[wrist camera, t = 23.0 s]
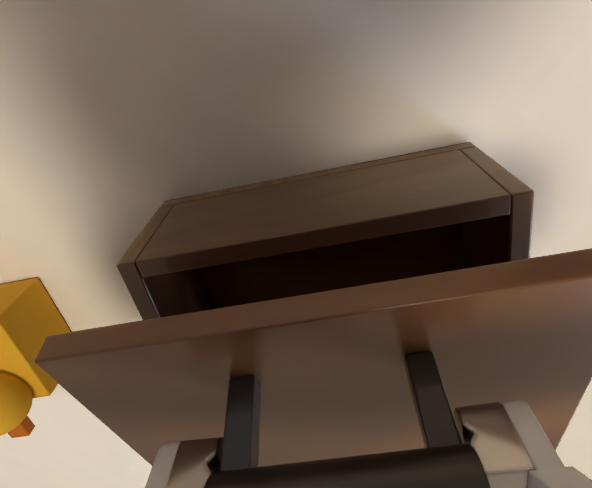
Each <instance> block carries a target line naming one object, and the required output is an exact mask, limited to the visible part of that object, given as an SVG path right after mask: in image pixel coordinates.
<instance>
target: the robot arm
mask: <svg viewBox="0 0 592 488" xmlns="http://www.w3.org/2000/svg"><path fill="white" fill-rule="evenodd" d="M454 419H455V422H456V425H457V428H458V433H459V436H460V439H461V442H462V444H464V443H468V444H470V445H471V446H473V448H474V449H475V451H476V452H477V454H478V456H479V458H480V460H481V462H482V465H483V467H484V470H485V472H486V475H487V478H488V481H489V484H490V487H491V488H592V480H591V479H589V478H588V477H587V476H585V475H584V474H582V473H581V472H579V471H578V470H577V469H575V468H574V467H564V465H563V463H562V461H561V460H560V458H559V456H558V455H557V453H556V451H555V449H554V448H553V446H552V444H551V442H550V441H549V439H548V437H547V436H546V434H545V432H544V430H543V429H542V427H541V425H540V424H539V422H538V420H537V418H536V417H535V415H534V413H533V412H532V410H531V408H530V406H529V405H528V403H527V402H526V401H524V400H523V399H521V400H513V401H505V402H500V403H499V402H493V403H486V404H479V405H471V406H464V407H457V408H455V409H454ZM222 448H223V437H217V438H207V439H196V440H185V441H176V442H167V443H163V444H162V445H161V447H160V448H159V450H158V452H157V455H156V458H155V461H154V464H153V466H152V469H151V472H150V475H149V478H148V481H147V484H146V487H145V488H204V485H205V483H206V481H207V479H208V477H209V476H210V475H211V474H212V473H214V472H218V471H220V468H221V458H222Z"/></svg>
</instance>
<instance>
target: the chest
mask: <svg viewBox="0 0 592 488" xmlns="http://www.w3.org/2000/svg"><path fill="white" fill-rule="evenodd" d="M533 197H534V192H533V190H532V189H531V188H529V187H528V186H527V185H525V184H524V183H523V182H521V181H520V180H519V179H518V178H516V177H515V176H514V175H512V174H511V173H510V172H508V171H507V170H506V169H505V168H503V167H502V166H501V165H499V164H498V163H497V162H495V161H494V160H493V159H492V158H490V157H489V156H488V155H486V154H485V153H484V152H482V151H481V150H480V149H479V148H477V147H475V145H473V144H472V143H470V142H469V143H464V144H458V145H453V146H448V147H443V148H438V149H433V150H428V151H422V152H417V153H412V154H407V155H402V156H397V157H391V158H386V159H381V160H376V161H371V162H366V163H360V164H355V165H350V166H345V167H340V168H335V169H330V170H324V171H319V172H314V173H309V174H304V175H299V176H293V177H288V178H283V179H278V180H273V181H268V182H262V183H257V184H252V185H247V186H242V187H237V188H232V189H226V190H221V191H216V192H211V193H206V194H201V195H195V196H190V197H185V198H180V199H175V200H170V201H165V202H164V203H163V204H162V206H161V207H160V208H159V210H158V211H157V212H156V213H155V215H154V216H153V217H152V219H151V220H150V221H149V223H148V224H147V225H146V227H145V228H144V229H143V231H142V232H141V233H140V235H139V236H138V237H137V239H136V240H135V241H134V243H133V244H132V245H131V247H130V248H129V249H128V251H127V252H126V253H125V255H124V256H123V257H122V259H121V260H120V261H119V263H118V264H117V267H118V269H119V271H120V273H121V275H122V278H123V280H124V282H125V284H126V286H127V288H128V290H129V292H130V294H131V296H132V298H133V300H134V302H135V304H136V306H137V309H138V311H139V313H140V315H141V317H142V319H143V320H149V319H155V318H161V317H168V316H174V315H180V314H186V313H193V312H199V311H205V310H211V309H218V308H224V307H230V306H236V305H242V304H249V303H255V302H261V301H267V300H274V299H280V298H286V297H292V296H299V295H305V294H311V293H317V292H324V291H330V290H336V289H342V288H348V287H355V286H361V285H367V284H373V283H380V282H386V281H392V280H398V279H405V278H411V277H417V276H423V275H429V274H436V273H442V272H448V271H454V270H461V269H467V268H473V267H479V266H486V265H492V264H498V263H504V262H511V261H517V260H523V259H529V258H530V243H531V228H532V212H533Z"/></svg>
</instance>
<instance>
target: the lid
mask: <svg viewBox="0 0 592 488" xmlns="http://www.w3.org/2000/svg"><path fill="white" fill-rule="evenodd" d="M35 363H36V364H37V365H38V366H39V367H40V368H41V369H43V370H44V371H45V372H46V373H47V374H48V375H49V376H51V377H52V378H53V379H54V380H55V381H56V382H57V383H59V384H60V385H61V386H62V387H63V388H64V389H65V390H66V391H68V392H69V393H70V394H71V395H72V396H73V397H74V398H76V399H77V400H78V401H79V402H80V403H81V404H82V405H84V406H85V407H86V408H87V409H88V410H89V411H90V412H92V413H93V414H94V415H95V416H96V417H97V418H98V419H100V420H101V421H102V422H103V423H104V424H105V425H106V426H107V427H109V428H110V429H111V430H112V431H113V432H114V433H115V434H117V435H118V436H119V437H120V438H121V439H122V440H123V441H125V442H126V443H127V444H128V445H129V446H130V447H131V448H133V449H134V450H135V451H136V452H137V453H138V454H139V455H141V456H142V457H143V458H144V459H145V460H146V461H147V462H149V463H150V464H151V465H152V466H153V464H154V461H155V458H156V455H157V452H158V450H159V448H160V447H161V445H162V444H163V443H167V442H176V441H185V440H196V439H207V438H217V437H223V448H222V458H221V468H220V471H218V472H214V473H212V474H211V475H210V476H209V477H208V479H207V481H206V483H205V485H204V488H491V487H490V484H489V481H488V478H487V475H486V472H485V470H484V467H483V465H482V462H481V460H480V458H479V456H478V454H477V452H476V451H475V449H474V448H473V446H471V445H470V444H468V443H464V444H462V442H461V439H460V436H459V433H458V428H457V425H456V422H455V419H454V409H455V408H457V407H464V406H471V405H479V404H486V403H493V402H499V403H500V402H505V401H513V400H521V399H523V400H524V401H526V402H527V403H528V405H529V406H530V408H531V410H532V412H533V413H534V415H535V417H536V418H537V420H538V422H539V424H540V425H541V427H542V429H543V430H544V432H545V434H546V436H547V437H548V439H549V441H550V442H551V444H552V446H553V448H554V449H555V450H556V448H557V446H558V444H559V442H560V440H561V438H562V436H563V435H564V433H565V431H566V429H567V427H568V425H569V423H570V421H571V419H572V417H573V415H574V413H575V411H576V409H577V407H578V405H579V403H580V401H581V399H582V397H583V395H584V393H585V391H586V389H587V387H588V385H589V383H590V381H591V379H592V249H585V250H579V251H573V252H567V253H560V254H554V255H548V256H542V257H535V258H529V259H523V260H517V261H511V262H504V263H498V264H492V265H486V266H479V267H473V268H467V269H461V270H454V271H448V272H442V273H436V274H429V275H423V276H417V277H411V278H405V279H398V280H392V281H386V282H380V283H373V284H367V285H361V286H355V287H348V288H342V289H336V290H330V291H324V292H317V293H311V294H305V295H299V296H292V297H286V298H280V299H274V300H267V301H261V302H255V303H249V304H242V305H236V306H230V307H224V308H218V309H211V310H205V311H199V312H193V313H186V314H180V315H174V316H168V317H161V318H155V319H149V320H143V321H137V322H130V323H124V324H118V325H112V326H105V327H99V328H93V329H87V330H80V331H74V332H68V333H62V334H55V335H49V336H47V337H46V338H45V340H44V342H43V344H42V346H41V348H40V350H39V352H38V354H37V356H36V358H35Z"/></svg>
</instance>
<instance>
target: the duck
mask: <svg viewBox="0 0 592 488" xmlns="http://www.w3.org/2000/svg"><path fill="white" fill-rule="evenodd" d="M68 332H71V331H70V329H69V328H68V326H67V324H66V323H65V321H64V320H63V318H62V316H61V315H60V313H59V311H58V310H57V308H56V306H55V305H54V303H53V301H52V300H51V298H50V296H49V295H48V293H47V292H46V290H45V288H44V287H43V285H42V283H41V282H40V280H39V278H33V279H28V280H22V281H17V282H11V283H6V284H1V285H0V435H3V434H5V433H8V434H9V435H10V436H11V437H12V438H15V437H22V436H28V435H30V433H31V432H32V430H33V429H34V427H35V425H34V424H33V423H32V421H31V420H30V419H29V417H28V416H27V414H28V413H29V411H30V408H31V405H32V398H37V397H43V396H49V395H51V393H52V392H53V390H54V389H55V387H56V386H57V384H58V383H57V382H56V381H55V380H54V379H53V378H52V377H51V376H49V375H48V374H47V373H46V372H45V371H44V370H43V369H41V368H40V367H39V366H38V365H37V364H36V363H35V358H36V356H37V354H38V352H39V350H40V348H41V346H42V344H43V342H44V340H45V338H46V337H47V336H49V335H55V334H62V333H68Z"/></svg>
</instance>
